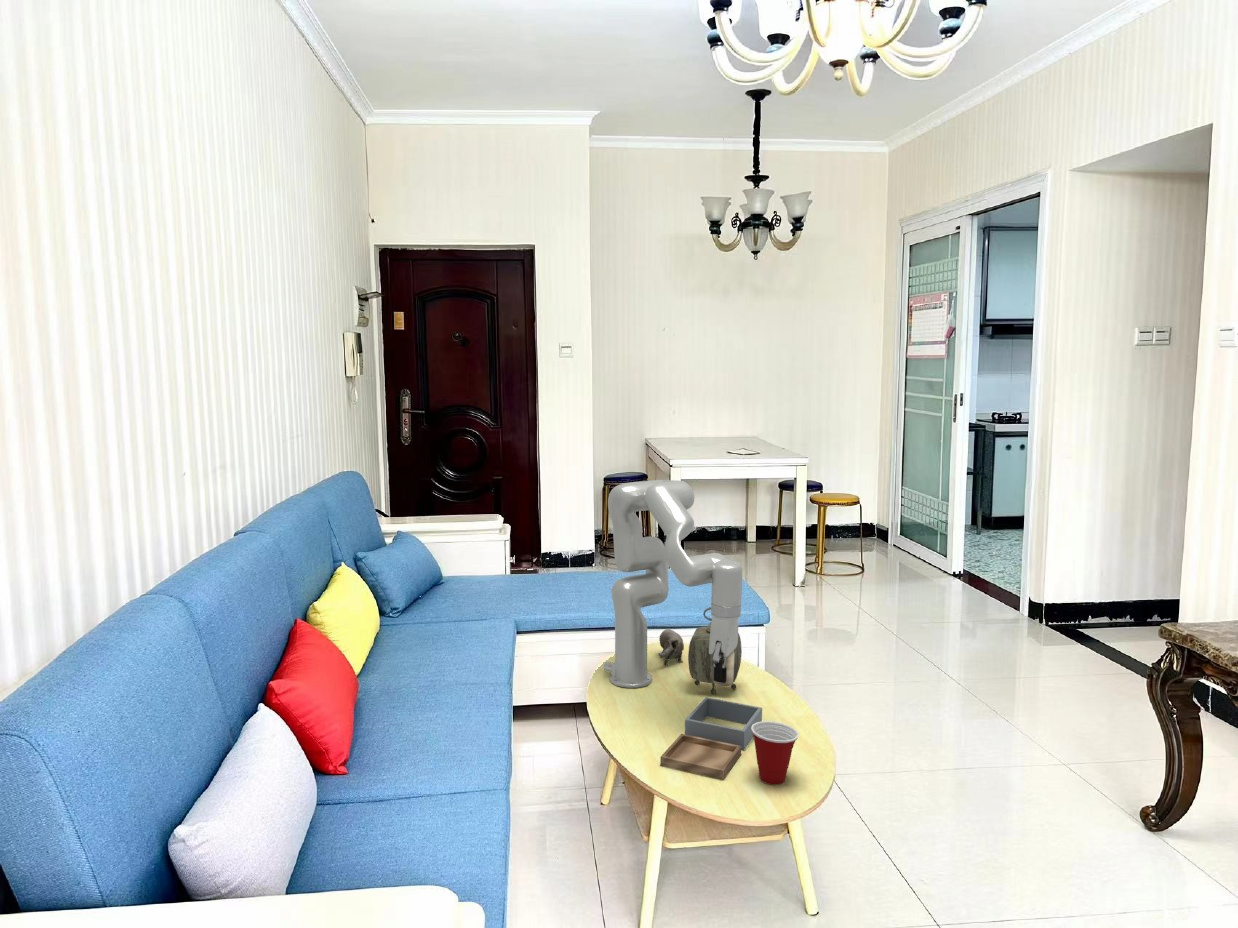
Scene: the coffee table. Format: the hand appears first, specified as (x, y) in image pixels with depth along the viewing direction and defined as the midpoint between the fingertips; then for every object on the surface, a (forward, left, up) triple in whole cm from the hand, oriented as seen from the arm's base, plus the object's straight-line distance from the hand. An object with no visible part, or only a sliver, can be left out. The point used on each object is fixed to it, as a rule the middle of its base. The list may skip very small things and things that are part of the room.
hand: (723, 677), depth 219 cm
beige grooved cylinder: (0, 0, -2) cm, 2 cm away
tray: (0, -17, -15) cm, 23 cm away
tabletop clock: (-11, +24, -15) cm, 30 cm away
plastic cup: (+18, -18, -15) cm, 30 cm away
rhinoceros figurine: (-31, +40, -15) cm, 53 cm away
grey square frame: (0, 0, -15) cm, 15 cm away
